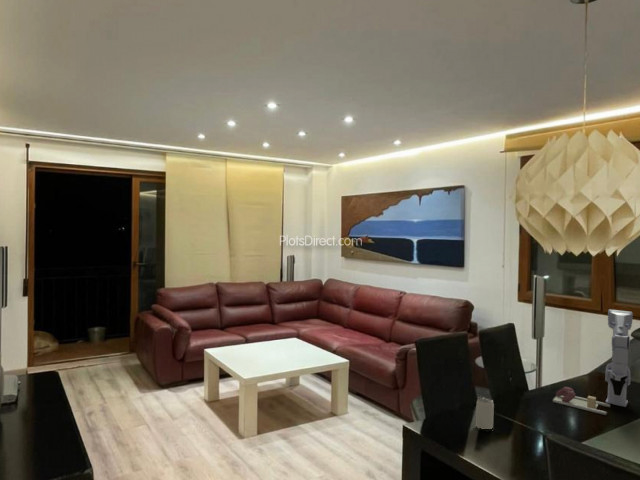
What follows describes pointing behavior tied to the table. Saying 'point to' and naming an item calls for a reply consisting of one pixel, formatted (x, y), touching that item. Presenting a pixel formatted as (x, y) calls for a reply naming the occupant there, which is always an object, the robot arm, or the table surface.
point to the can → (484, 413)
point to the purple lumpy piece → (566, 394)
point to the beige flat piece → (589, 403)
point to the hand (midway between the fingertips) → (618, 392)
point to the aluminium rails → (583, 406)
